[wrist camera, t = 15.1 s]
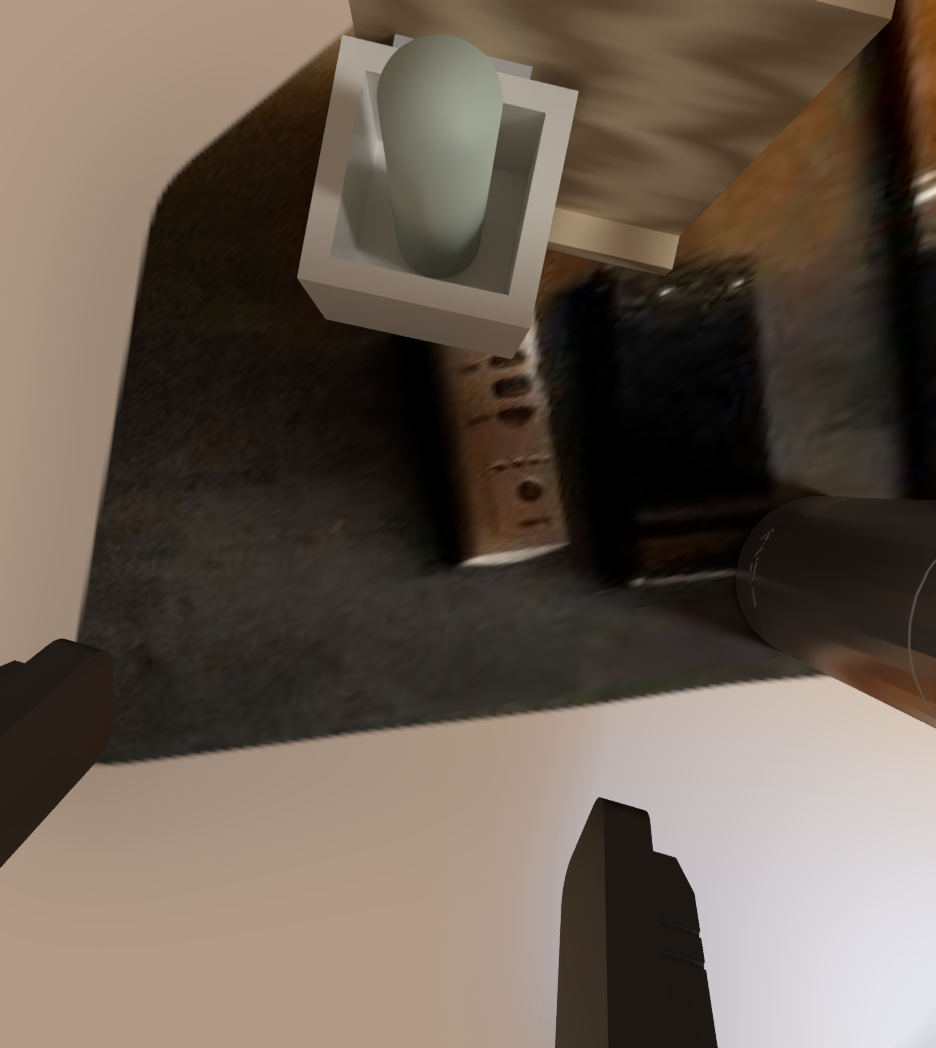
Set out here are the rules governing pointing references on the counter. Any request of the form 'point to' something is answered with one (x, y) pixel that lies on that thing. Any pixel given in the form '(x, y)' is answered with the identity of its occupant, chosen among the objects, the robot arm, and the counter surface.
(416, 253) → the pale green rounded cylinder
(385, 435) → the counter surface
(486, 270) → the grey open box
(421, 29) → the oak board
